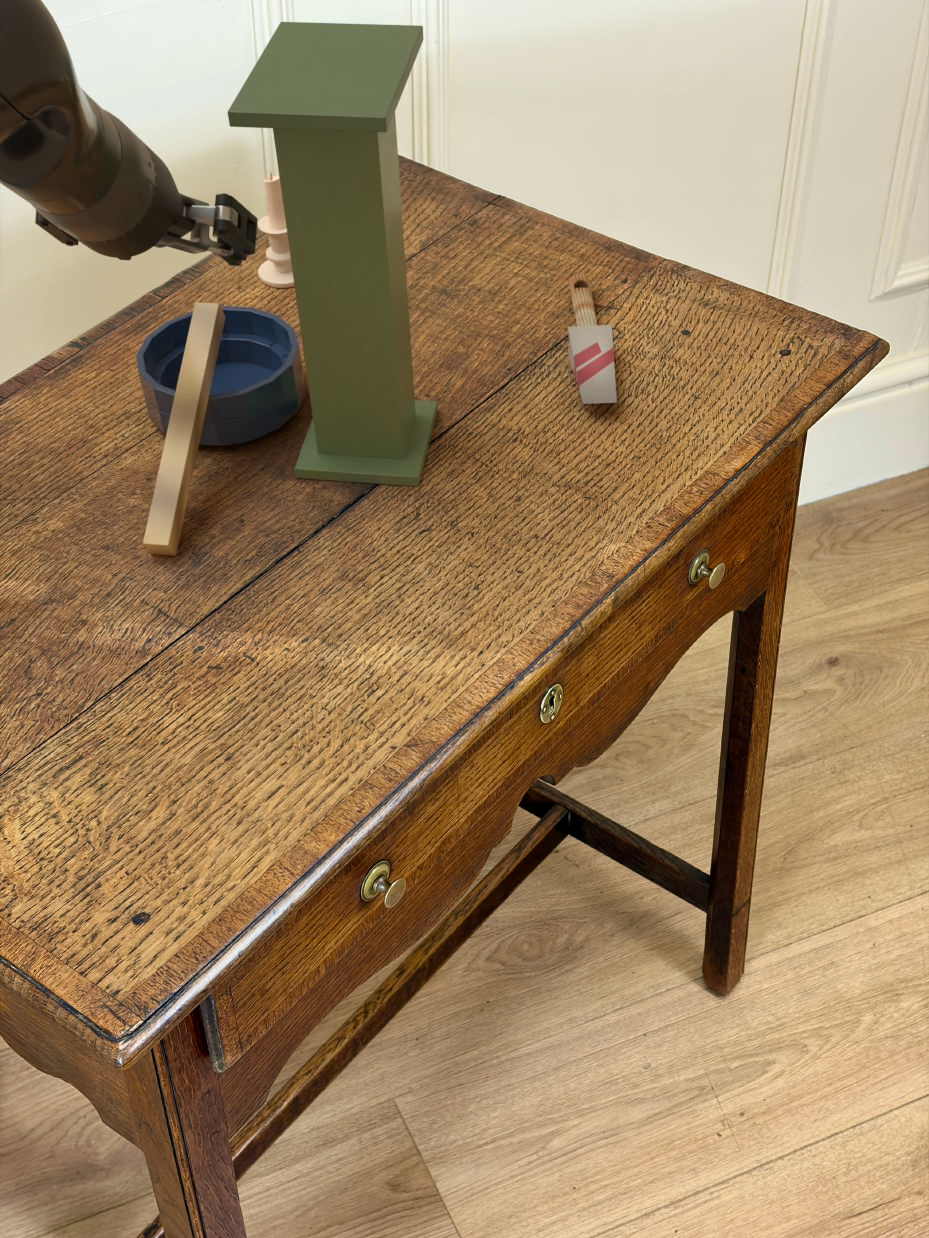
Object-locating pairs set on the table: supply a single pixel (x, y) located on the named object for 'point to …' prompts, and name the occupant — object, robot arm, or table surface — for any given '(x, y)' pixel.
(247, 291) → the table surface
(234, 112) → the stand
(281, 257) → the candle
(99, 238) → the robot arm
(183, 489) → the stick
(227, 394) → the bowl
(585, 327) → the paintbrush
